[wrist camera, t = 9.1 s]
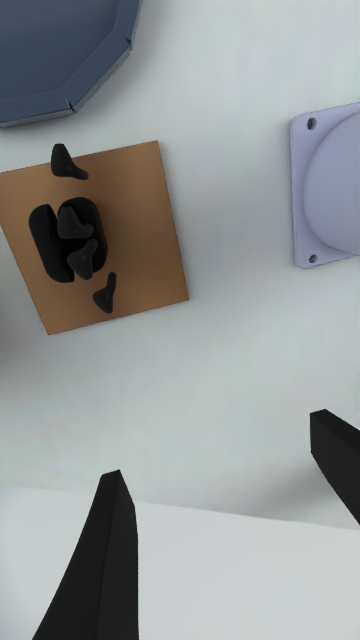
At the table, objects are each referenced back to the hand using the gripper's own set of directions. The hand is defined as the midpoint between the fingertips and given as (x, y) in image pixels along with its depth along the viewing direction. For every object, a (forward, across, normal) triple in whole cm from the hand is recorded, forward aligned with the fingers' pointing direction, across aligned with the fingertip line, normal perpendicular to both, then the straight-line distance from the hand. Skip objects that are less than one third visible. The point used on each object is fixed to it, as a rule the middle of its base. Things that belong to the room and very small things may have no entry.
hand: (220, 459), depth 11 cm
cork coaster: (+9, +3, -7) cm, 12 cm away
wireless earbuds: (+9, +4, -8) cm, 13 cm away
